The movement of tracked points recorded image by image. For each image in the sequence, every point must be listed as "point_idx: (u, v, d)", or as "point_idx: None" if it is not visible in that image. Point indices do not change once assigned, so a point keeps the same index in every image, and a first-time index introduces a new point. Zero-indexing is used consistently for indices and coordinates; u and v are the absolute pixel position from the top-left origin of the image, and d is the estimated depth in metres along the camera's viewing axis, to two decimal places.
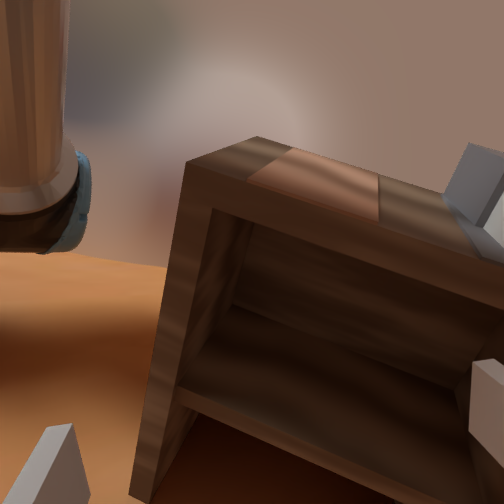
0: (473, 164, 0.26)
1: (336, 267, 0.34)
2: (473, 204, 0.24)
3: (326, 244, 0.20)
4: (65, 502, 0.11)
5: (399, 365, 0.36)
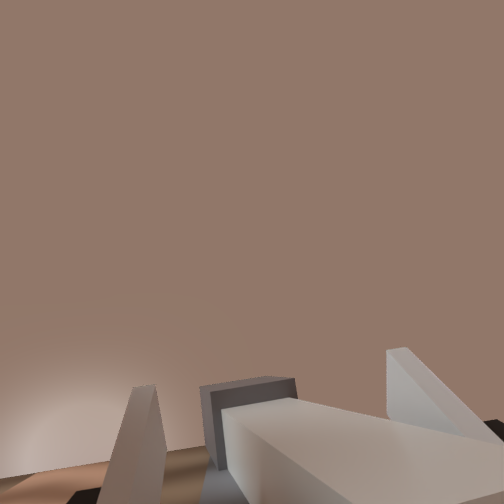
0: (204, 406, 0.25)
1: None
2: (213, 447, 0.22)
3: None
4: (156, 449, 0.12)
5: None
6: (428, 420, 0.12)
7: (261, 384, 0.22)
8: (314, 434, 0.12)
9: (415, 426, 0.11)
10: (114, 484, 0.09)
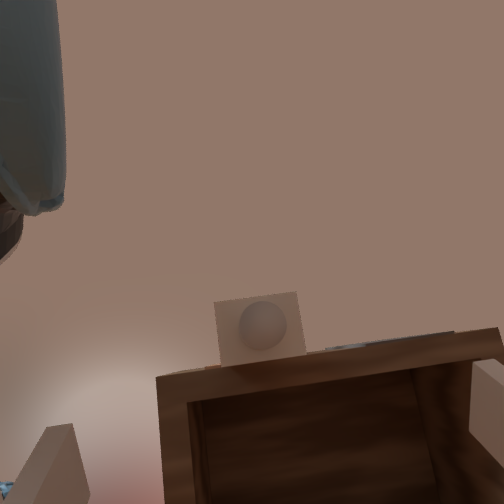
0: None
1: (289, 445, 0.39)
2: None
3: (277, 386, 0.28)
4: (65, 502, 0.11)
5: None
6: None
7: None
8: None
9: None
10: None
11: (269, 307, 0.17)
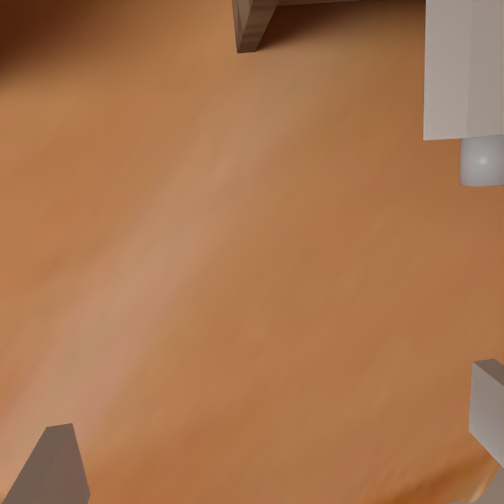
0: None
1: None
2: None
3: None
4: (65, 502, 0.11)
5: None
6: None
7: None
8: None
9: None
10: None
11: None
